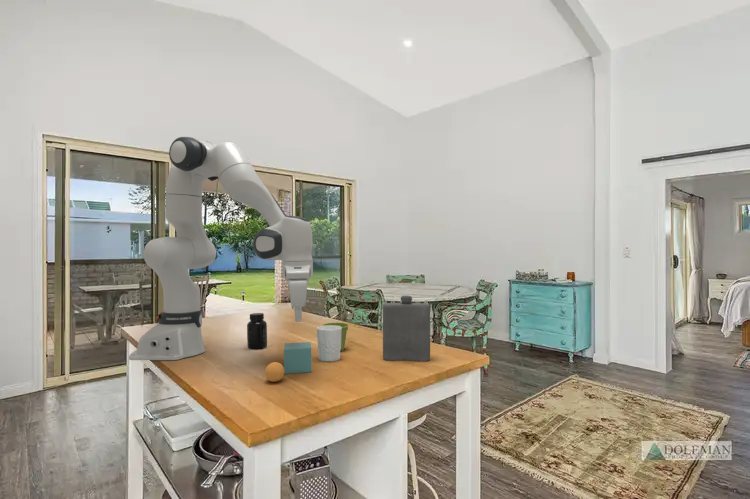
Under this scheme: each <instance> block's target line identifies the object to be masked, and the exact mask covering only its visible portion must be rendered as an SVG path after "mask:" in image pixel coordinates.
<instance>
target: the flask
mask: <svg viewBox="0 0 750 499" xmlns="http://www.w3.org/2000/svg"><path fill="white" fill-rule="evenodd" d="M400 301H401V302H386V303H383V304H382V359H383V360H384V361H387V362H395V361H396V362H397V361H398V362H400V361H403V362H405V361H406V362H420V361H426V362H429V361H430V360H431V304H429V303H423V302H412V301H413V297H412V296H411V295H401V297H400ZM428 360H429V361H428Z"/></svg>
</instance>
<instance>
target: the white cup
mask: <svg viewBox="0 0 750 499" xmlns="http://www.w3.org/2000/svg"><path fill="white" fill-rule="evenodd" d="M341 335H342V327H341V326H336V325H326V326H322V325H320V326H317V327H316V336H317V338H316V341H317V351H318V361H320V362H336V361H339V360H340V359H341Z"/></svg>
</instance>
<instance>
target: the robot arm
mask: <svg viewBox="0 0 750 499" xmlns="http://www.w3.org/2000/svg"><path fill="white" fill-rule="evenodd" d="M168 156H169V160H170V162H171V164H172V166H170V168H169V172H168V176H167V181H166V186H165V188H166V189H165V206H164V207H165V210H164V212H165V213H164V216H165V217H164V218H165V219H166V221H167V222H168V223H169V224H171V225H172V226H173V228H174V230H175V232H176V233H175V234H176V236H163V237H159V238H154V239H151V240H148V242H147V243H146V245H145V246H144V249H143V260H144V262H145V264H146V265H147V266H148V267H149V268H150V269H151V270H153V271H154V272H155V273H156V275H157V277H158V279H159V281H160V283H161V287H162V291H163V311H161V312H160V313H159V314H158V315H157V316H155V319H156V320H157V324H155V325H154V326H153V327H151V328H150V329H149V330H147V331H146V332H145V333H144V334H143V335H141V337H140V338H139V339H138V343H137V347H136V350H134V351H132V352H131V353H130V354H129V355H128V360H129V361H178V360H180V359H184V358H189V357H193V356H197V355H201V354H203V353H205V352H206V347H205V344H204V340H203V335H202V324H203V314H202V309H201V288H200V286H199V284H197V283H196V282H195V281H193V280H192V278H191V276H190V273H189V270H197V269H202V268H203V269H204V268H206V267H209V266H210V265H212V264H213V263H214V261H215V260H216V256H217V249H216V246H215V244H213V242H212V241H211V240H210V239H209V238H208V236H207V232H206V231H205V227H204V224H203V184H204V182H205V181H206V180H207V179H208V180H209V181H211V182H213V181H216V180H219V182H220V184H221V187H222V188H223V190H224V192H225V193H226V194H227V195H228V196H229V197H230V198H231V199H232V200H234V201H235V202H237V203H240V204H243V205H245V206H248V207H250V208H252V209H254V210H256V211H257V212H258V213H260V214H261V215H262V217H263V218H264V219H265V220H266V222H267V224H268V225H269V226H268V227H265V228H261V229H259V230H258V231H257V232H256V233H255V235H254V237H253V241H252V245H253V246H252V247H253V251H254V252H255V255H256V256H257V257H258V258H260V259H261V260H262V259H263V260H267V261H281V267H282V268H281V272H282V274H281V275H282V276H281V277H282V278H285V279H286V283H287V284H288V290H289V299H290V304H291V307H293V308H294V321H295V322H297V323H298V322H302V321H303V307H305V306H306V302H307V293H308V292H307V291H308V283H309V282H310V278H312V277H313V276H314V262H313V261H314V258H313V255H312V251H313V250H312V249H313V245H314V244H313V243H314V242H313V240H314V239H313V230H312V224H311V222H310V220H309V219H308V218H306V217H301V216H296V215H287V214H286V213H285V212H284V210H283V209H282V207H281V205H280V204H279V202H278V201H277V200H276V198H275V196H274V195H273V194H272V193H271V192H270V190H268V188H267V187H266V185H265V184H264V183H263V181H262V179H261V178H260V177H259V175H258V173H257V172H256V170H255V168H254V166H253V165H252V163H251V161H250V160H249V158H248V156H247V155H246V153H245V152H244V150H242V148H241V147H240V146H239V145H237V143H234V142H232V141H223V142H220V143H218V144H216V143H213V142H211V141H208V140H206V141H205V140H202V139H201V140H200V139H197V138H194V137H190V136H180V137H177V138H175V139H173V141H172V143H171V145H170V146H169V150H168Z"/></svg>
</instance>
